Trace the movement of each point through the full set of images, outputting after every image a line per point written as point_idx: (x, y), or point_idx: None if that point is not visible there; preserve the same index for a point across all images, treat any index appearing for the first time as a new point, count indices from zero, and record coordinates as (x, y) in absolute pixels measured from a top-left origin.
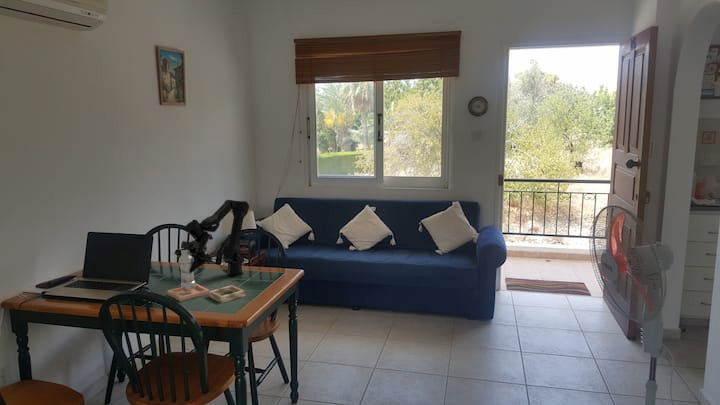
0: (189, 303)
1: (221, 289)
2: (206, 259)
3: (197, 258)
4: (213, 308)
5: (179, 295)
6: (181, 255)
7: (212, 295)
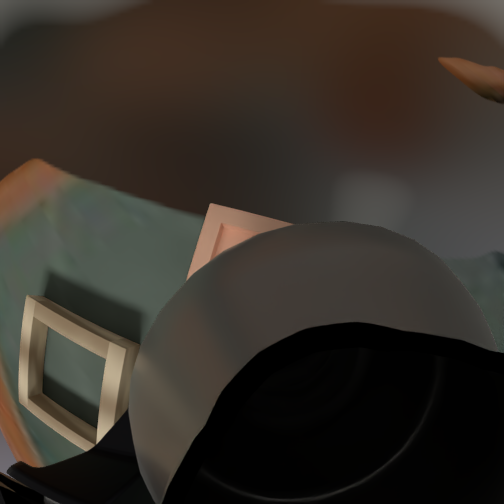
0: (154, 221)
1: (100, 403)
2: (16, 481)
3: (48, 471)
4: (37, 235)
5: (246, 226)
6: (471, 323)
7: (93, 329)
